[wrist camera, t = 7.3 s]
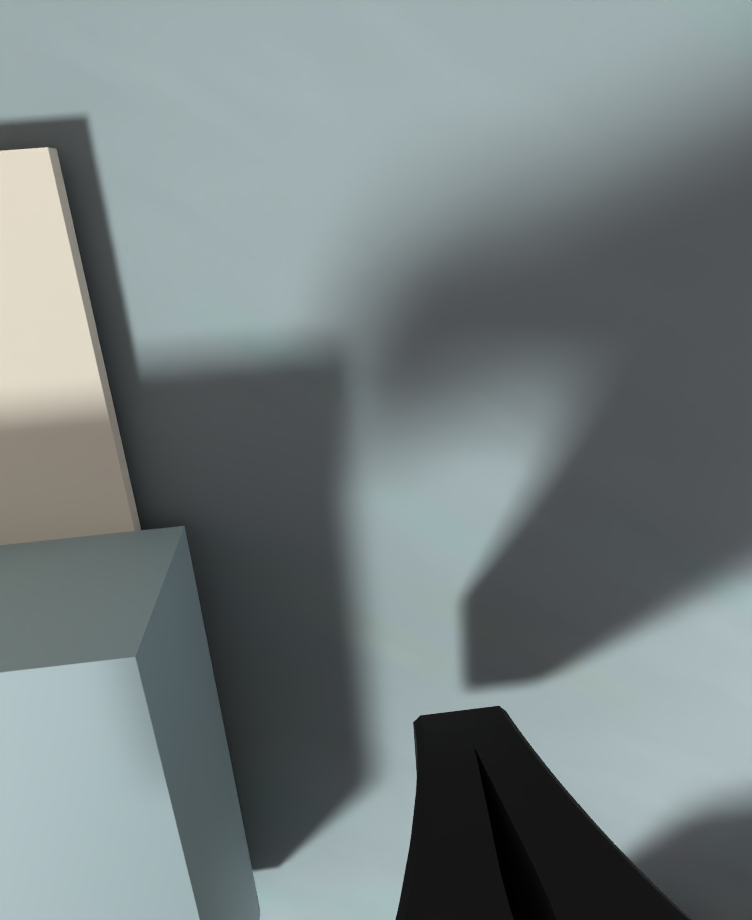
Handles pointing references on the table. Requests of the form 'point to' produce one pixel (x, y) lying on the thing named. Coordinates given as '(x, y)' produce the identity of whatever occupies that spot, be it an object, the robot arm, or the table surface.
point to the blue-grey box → (113, 738)
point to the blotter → (52, 371)
